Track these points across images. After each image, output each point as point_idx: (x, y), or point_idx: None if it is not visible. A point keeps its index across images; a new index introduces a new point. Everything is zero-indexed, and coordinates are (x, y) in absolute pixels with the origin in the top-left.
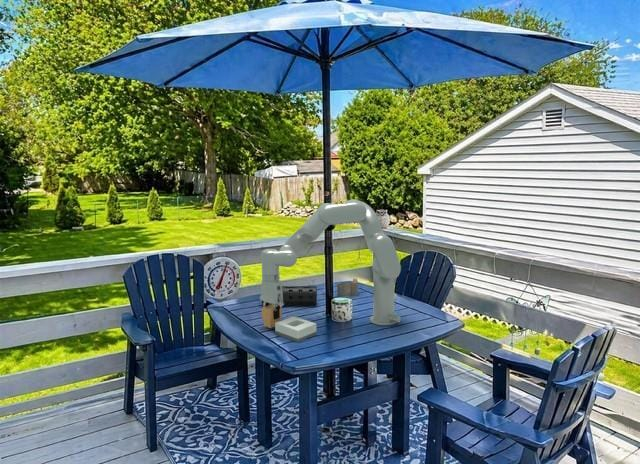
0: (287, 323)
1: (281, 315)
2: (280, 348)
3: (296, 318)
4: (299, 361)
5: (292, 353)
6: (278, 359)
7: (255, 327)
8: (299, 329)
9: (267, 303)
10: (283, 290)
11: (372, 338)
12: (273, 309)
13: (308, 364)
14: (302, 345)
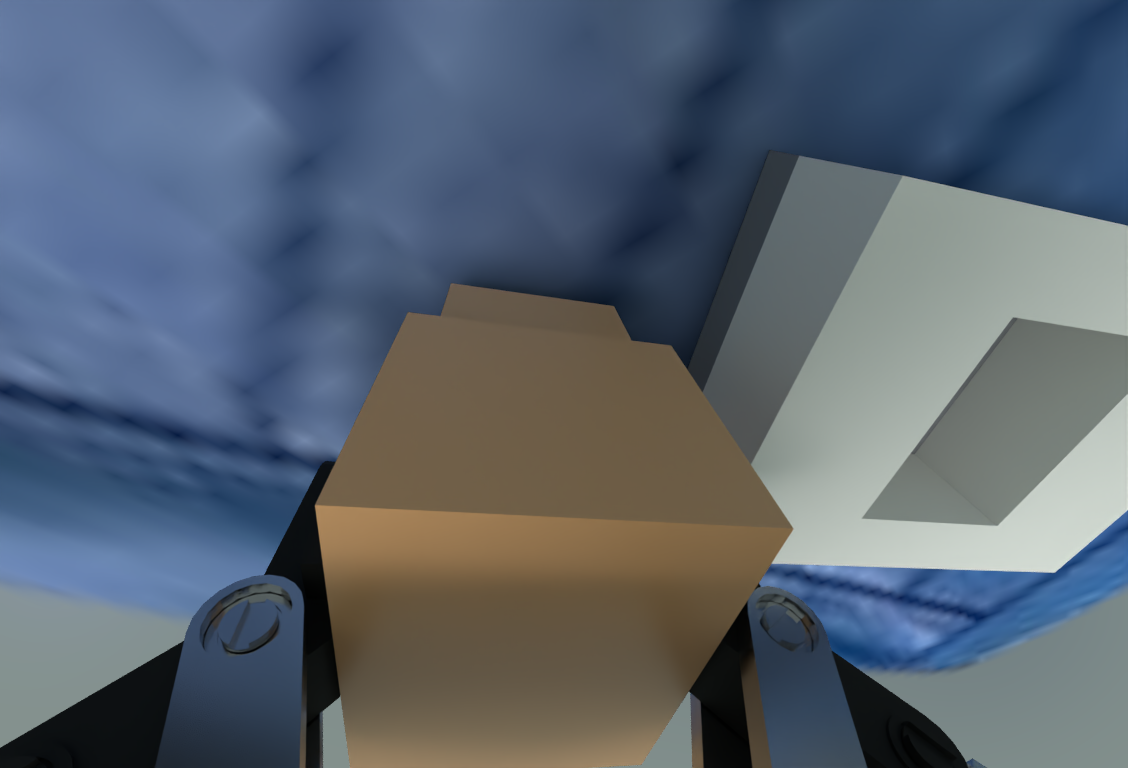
0: (876, 495)
1: (681, 377)
2: (828, 592)
3: (997, 262)
4: (991, 628)
5: (931, 596)
6: (865, 661)
7: (319, 439)
8: (1071, 546)
9: (231, 708)
10: None
11: None
12: (669, 702)
13: (1047, 624)
14: None
